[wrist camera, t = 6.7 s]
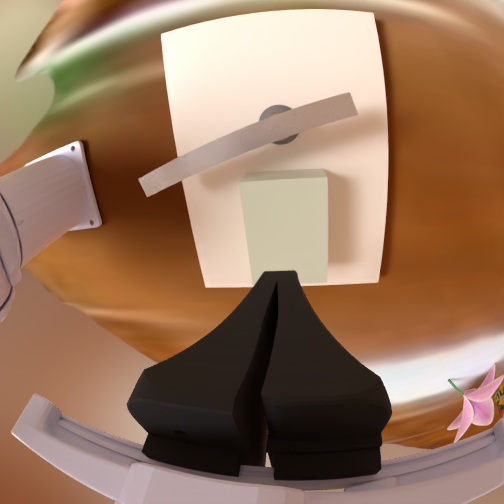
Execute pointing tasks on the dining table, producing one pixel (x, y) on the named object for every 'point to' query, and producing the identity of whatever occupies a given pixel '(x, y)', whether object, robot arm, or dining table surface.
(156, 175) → the t key
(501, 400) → the condiment
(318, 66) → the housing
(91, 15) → the dining table surface
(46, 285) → the dining table surface
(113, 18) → the dining table surface
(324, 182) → the cover
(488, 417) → the lily
